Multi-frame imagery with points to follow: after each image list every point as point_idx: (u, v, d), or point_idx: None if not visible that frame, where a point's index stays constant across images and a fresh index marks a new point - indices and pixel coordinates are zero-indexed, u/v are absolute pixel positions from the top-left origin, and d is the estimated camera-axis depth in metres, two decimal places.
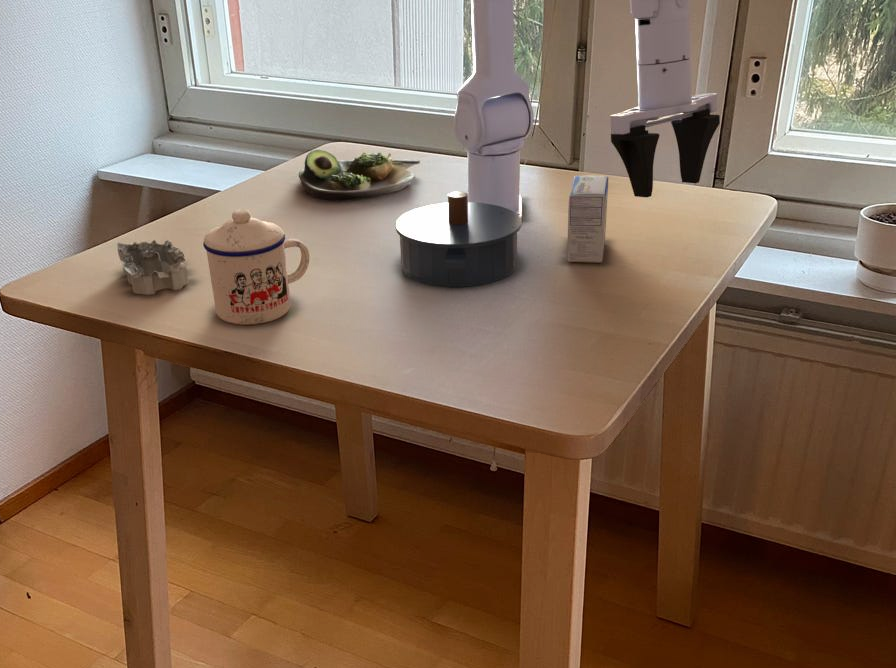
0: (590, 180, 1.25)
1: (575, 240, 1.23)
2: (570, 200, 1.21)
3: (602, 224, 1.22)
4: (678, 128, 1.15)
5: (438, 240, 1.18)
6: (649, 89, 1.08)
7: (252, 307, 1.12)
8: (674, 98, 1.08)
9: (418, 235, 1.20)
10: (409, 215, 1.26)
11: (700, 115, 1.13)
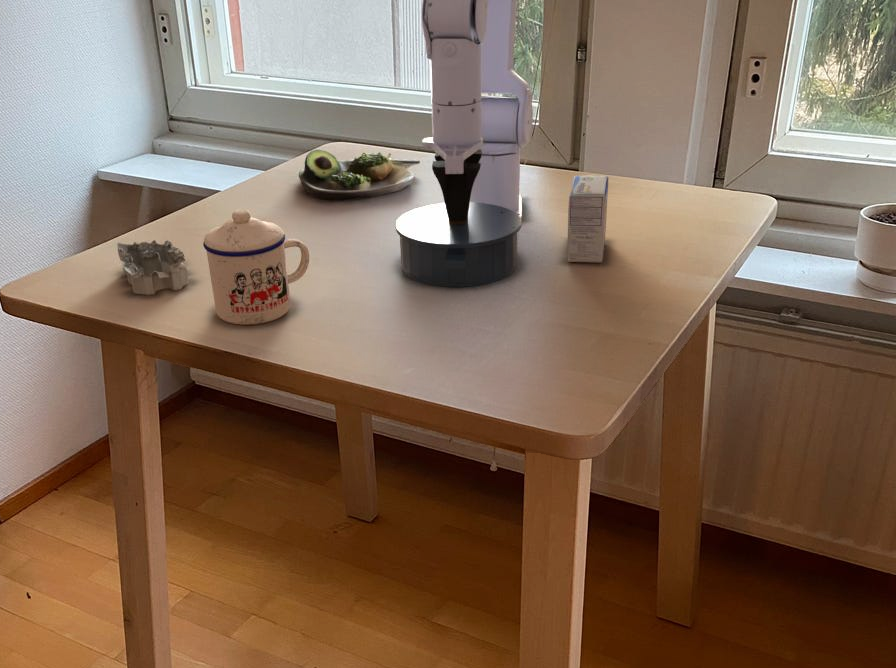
0: (591, 180, 1.25)
1: (575, 240, 1.23)
2: (570, 200, 1.21)
3: (602, 224, 1.22)
4: None
5: (438, 240, 1.18)
6: None
7: (252, 307, 1.12)
8: None
9: (418, 235, 1.20)
10: (409, 215, 1.26)
11: None
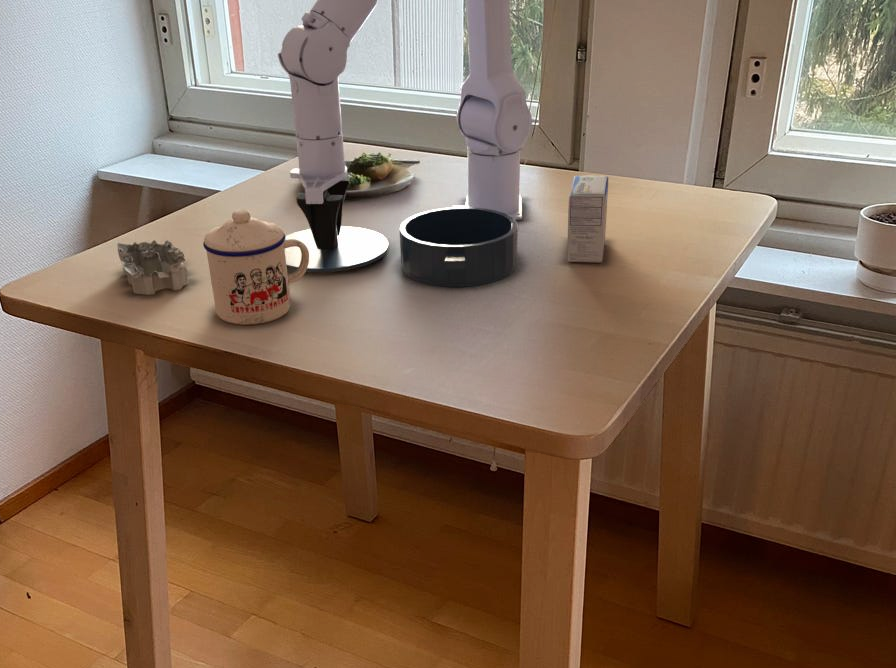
0: (590, 180, 1.25)
1: (575, 240, 1.23)
2: (570, 200, 1.21)
3: (602, 224, 1.22)
4: None
5: None
6: None
7: (252, 307, 1.12)
8: None
9: (288, 259, 1.27)
10: (285, 239, 1.33)
11: None
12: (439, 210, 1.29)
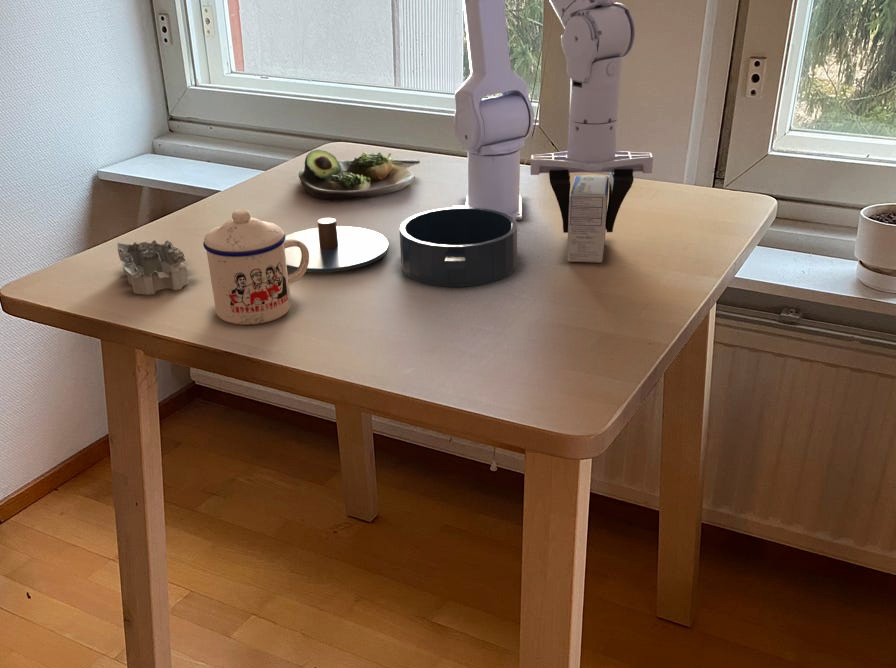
0: (591, 180, 1.25)
1: (575, 240, 1.23)
2: (570, 200, 1.21)
3: (603, 224, 1.22)
4: (610, 178, 1.24)
5: None
6: (568, 141, 1.20)
7: (252, 307, 1.12)
8: (582, 155, 1.19)
9: (288, 259, 1.27)
10: (285, 239, 1.33)
11: (620, 173, 1.21)
12: (439, 210, 1.29)
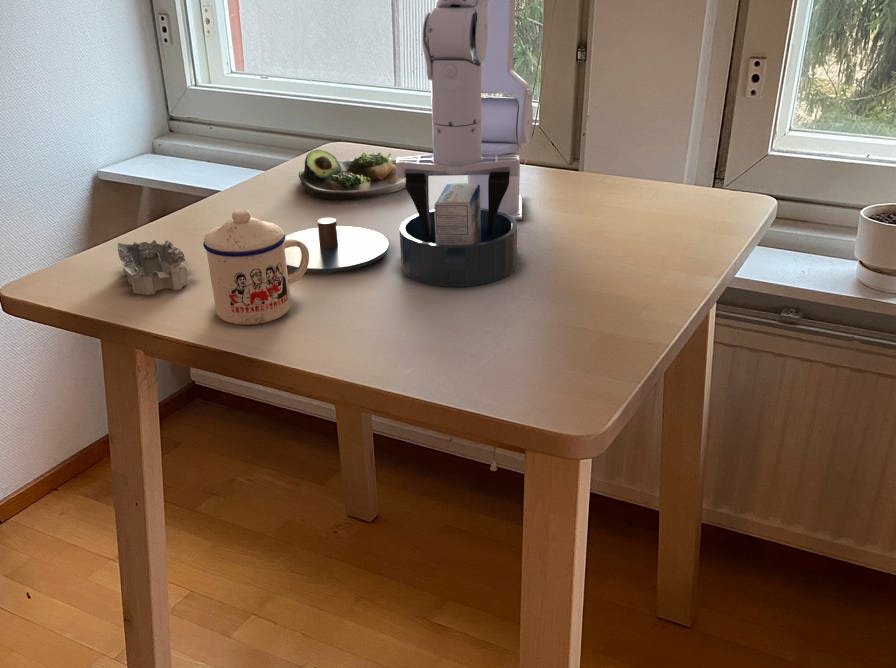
0: (460, 187, 1.22)
1: None
2: (435, 208, 1.19)
3: (469, 233, 1.20)
4: None
5: None
6: (433, 144, 1.18)
7: (252, 307, 1.12)
8: (445, 158, 1.16)
9: (288, 259, 1.27)
10: (285, 239, 1.33)
11: (496, 176, 1.19)
12: None
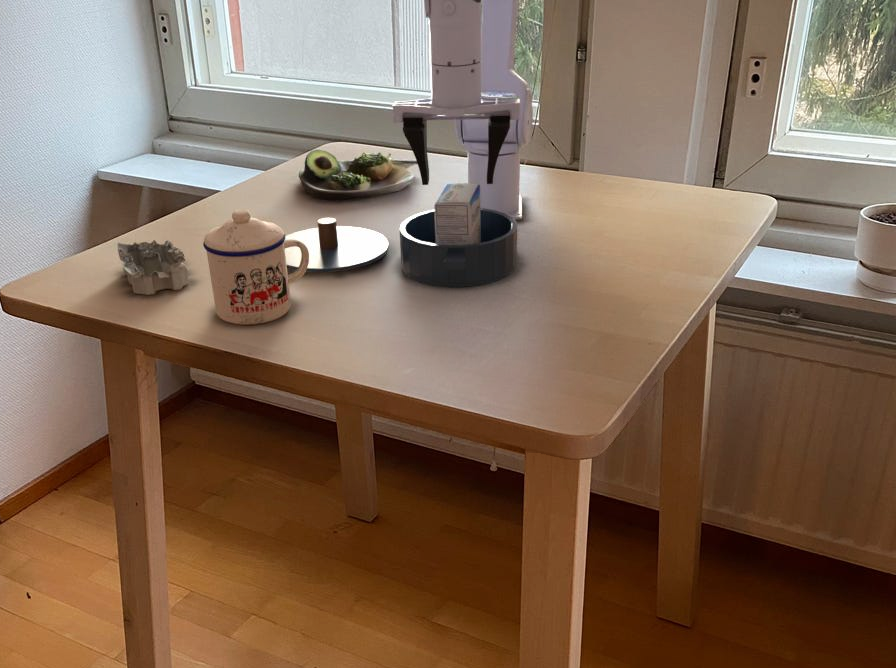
0: (460, 187, 1.22)
1: None
2: (435, 208, 1.19)
3: (469, 233, 1.20)
4: None
5: None
6: (431, 86, 1.14)
7: (252, 307, 1.12)
8: (444, 100, 1.13)
9: (288, 259, 1.27)
10: (285, 239, 1.33)
11: (496, 120, 1.15)
12: None
